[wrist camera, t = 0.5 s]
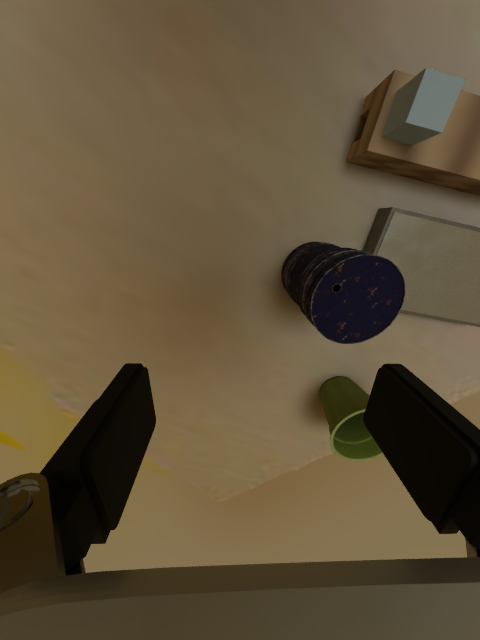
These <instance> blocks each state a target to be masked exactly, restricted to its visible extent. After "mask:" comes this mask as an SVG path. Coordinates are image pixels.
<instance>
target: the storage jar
mask: <svg viewBox="0 0 480 640" xmlns="http://www.w3.org/2000/svg"><path fill="white" fill-rule="evenodd" d="M282 282H283V285H284V288H285V289H286V291H287V293H288V294H289V296H290V297H291V298H292V300H293V301H294V302H296V303H297V304H298V305H299V306H300V309H301V310H302V312H303V314H304V315H305V316H306V317H307V319H308V320H309V321H310V322H311V323H312V324H313V325H314V326H315V327H316V329H317V330H318V331H319V332H320V333H321V334H322V335H323V336H324V337H326V338H327V339H329V340H331V341H334V342H337V343H342V344H354V343H360V342H363V341H366V340H369V339H371V338H373V337H375V336H377V335H378V334H380V333H381V332H383V331H384V330H385V329H386V328H387V327H388V326H390V324H391V323H392V322H393V321H394V320H395V318H396V317H397V315H398V314H399V312H400V310H401V308H402V305H403V302H404V298H405V281H404V278H403V275H402V273H401V271H400V270H399V268H398V267H397V266H396V265H395V264H394V263H393V262H392V261H390V260H389V259H387V258H384V257H382V256H378V255H373V254H370V253H368V252H365V251H360V250H356V249H351V248H340V247H338V246H335V245H333V244H329V243H320V242H309V243H305V244H303V245H301V246H299V247H297V248H296V249H294V250H293V251H292V252H291V253H290V254H289V256H288V257H287V259H286V260H285V262H284V265H283V268H282Z"/></svg>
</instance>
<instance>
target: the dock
mask: <svg viewBox="0 0 480 640" xmlns="http://www.w3.org/2000/svg"><path fill="white" fill-rule="evenodd" d="M363 251H365V252H368V253H370V254H373V255H378V256H382V257H384V258H387V259H389V260H390V261H392V262H393V263H394V264H395V265H396V266H397V267H398V268H399V270H400V271H401V273H402V275H403V278H404V281H405V298H404V302H403V305H402V308H401V310H400V312H401V313H407V314H412V315H417V316H423V317H428V318H434V319H439V320H444V321H450V322H455V323H461V324H466V325H471V326H477V327H480V228H478V227H473V226H469V225H465V224H461V223H457V222H452V221H448V220H444V219H440V218H436V217H431V216H427V215H423V214H419V213H415V212H410V211H406V210H402V209H398V208H393V207H390V208H379V210H378V213H377V215H376V218H375V221H374V223H373V226H372V228H371V231H370V233H369V236H368V238H367V241H366V244H365V246H364V249H363Z"/></svg>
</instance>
